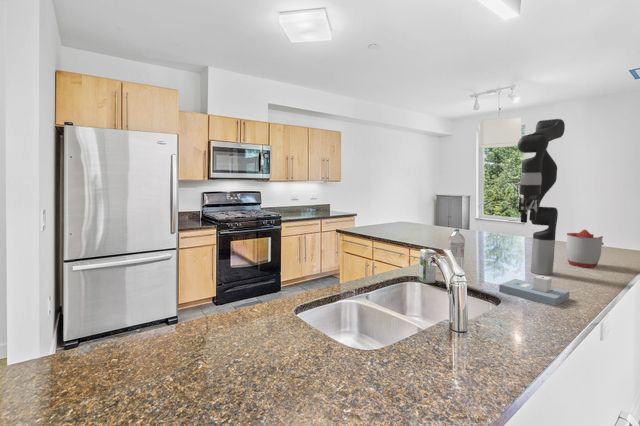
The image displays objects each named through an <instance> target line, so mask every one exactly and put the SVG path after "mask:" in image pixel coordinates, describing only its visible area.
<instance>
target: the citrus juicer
mask: <svg viewBox="0 0 640 426" xmlns="http://www.w3.org/2000/svg"><path fill="white" fill-rule="evenodd" d="M603 238H604V236H597V237H594V234H593V233H590V232H589V231H588V230H587V229H583V230H581V231H580V232H567V233H566V246H565V253H566V258H567V259H566V260H567V262H568V264H569V265H571V266H574V267H575V266H576V267H579V268H596V267H597V265H598V264H599V261H600V259H601V256H602V248H603V247H602V246H604V242H603Z"/></svg>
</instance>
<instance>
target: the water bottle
mask: <svg viewBox="0 0 640 426" xmlns="http://www.w3.org/2000/svg"><path fill="white" fill-rule="evenodd" d="M447 242H448V243H447V244H448V245H447V251H448V250H451V252H452V254H453V256H454V259H455V260H456V262H457V264H458V265H459V266H460V267H461V268H462V269H463V271H464V268H465V266H464V265H465V242H466V238H465V237H464V235H463V234H462V233H460V229H459V228H454V232H452V233H451V234H450V235H449V236H448V237H447Z"/></svg>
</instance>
